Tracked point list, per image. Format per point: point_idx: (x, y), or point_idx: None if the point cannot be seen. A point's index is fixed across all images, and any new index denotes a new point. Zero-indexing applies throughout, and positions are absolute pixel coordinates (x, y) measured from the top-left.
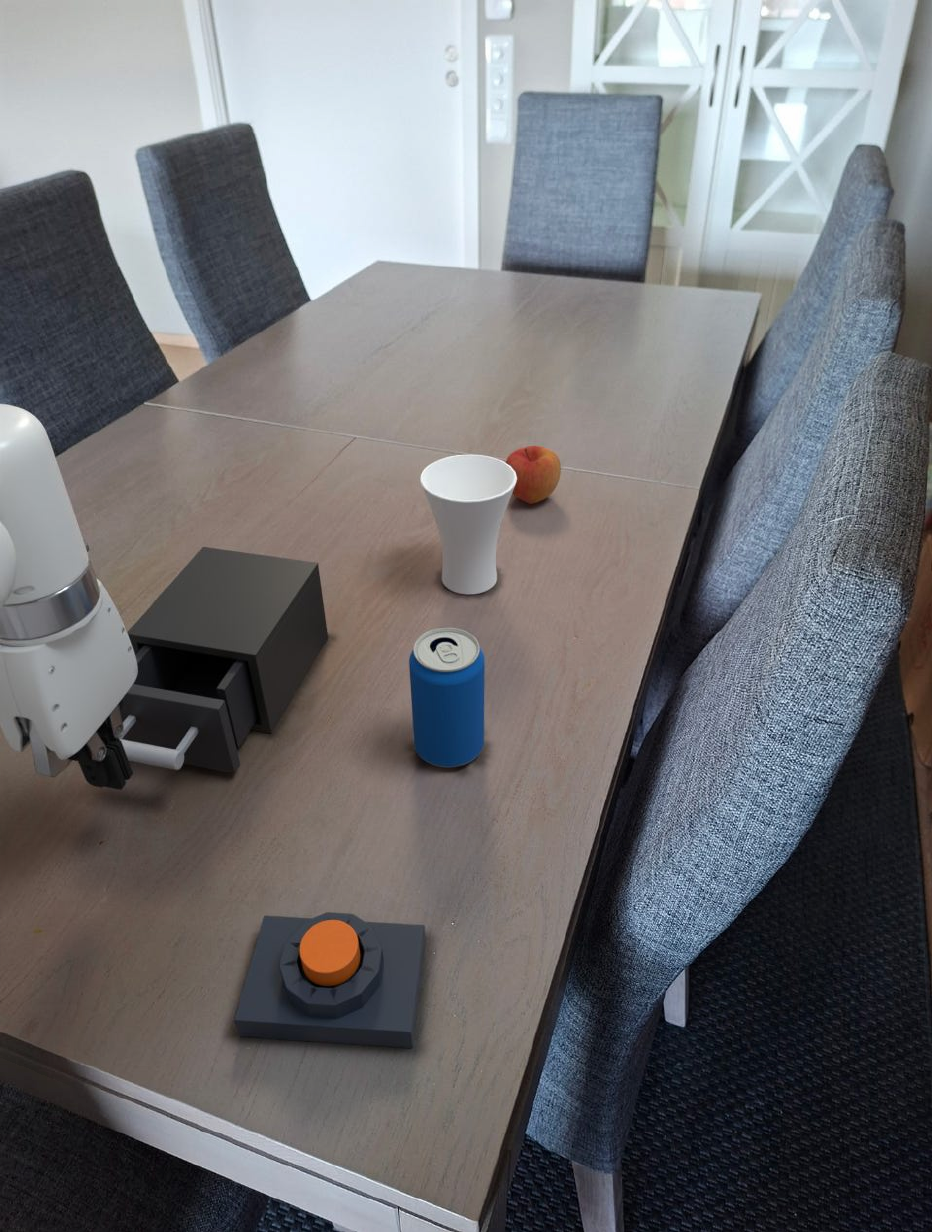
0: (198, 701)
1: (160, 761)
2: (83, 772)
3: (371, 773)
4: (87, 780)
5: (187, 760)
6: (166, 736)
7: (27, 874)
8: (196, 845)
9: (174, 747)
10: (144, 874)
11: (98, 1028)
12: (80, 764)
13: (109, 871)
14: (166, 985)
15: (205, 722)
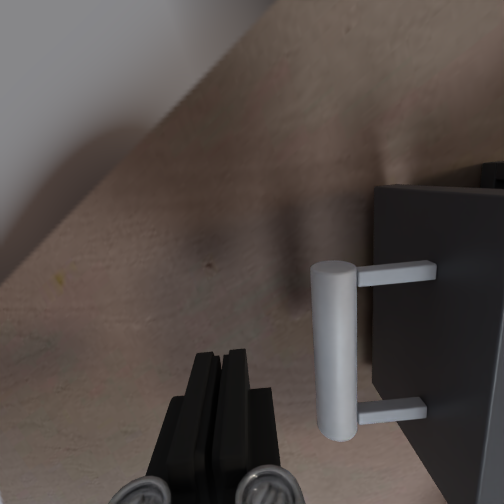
0: (493, 495)
1: (320, 409)
2: (161, 429)
3: (415, 500)
4: (171, 402)
5: (376, 319)
6: (404, 320)
7: (119, 200)
8: (251, 381)
9: (390, 316)
10: (188, 349)
11: (7, 417)
12: (152, 459)
13: (173, 306)
14: (81, 448)
15: (438, 454)
